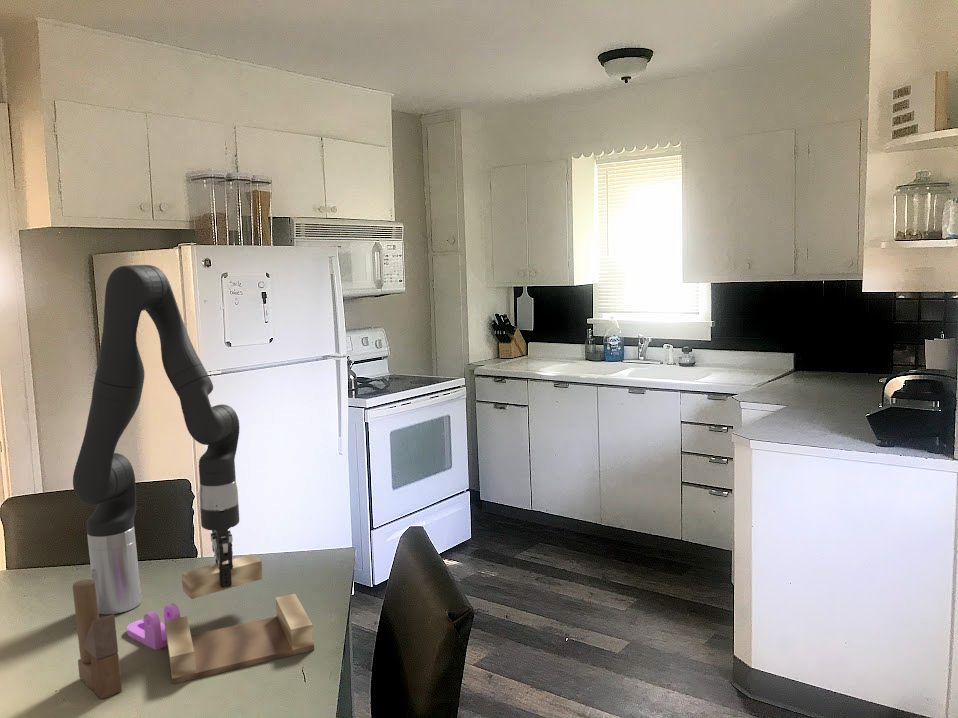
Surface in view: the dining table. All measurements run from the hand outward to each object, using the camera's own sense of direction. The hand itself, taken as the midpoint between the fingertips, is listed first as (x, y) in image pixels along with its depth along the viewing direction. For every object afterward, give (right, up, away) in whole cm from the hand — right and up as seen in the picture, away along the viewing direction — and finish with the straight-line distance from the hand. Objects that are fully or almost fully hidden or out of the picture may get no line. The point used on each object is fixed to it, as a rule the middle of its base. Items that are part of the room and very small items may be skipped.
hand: (224, 580), depth 165 cm
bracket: (-12, -9, -7) cm, 17 cm away
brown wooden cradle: (+7, -9, -14) cm, 18 cm away
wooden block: (-14, -12, -25) cm, 31 cm away
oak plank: (0, -1, 0) cm, 1 cm away
